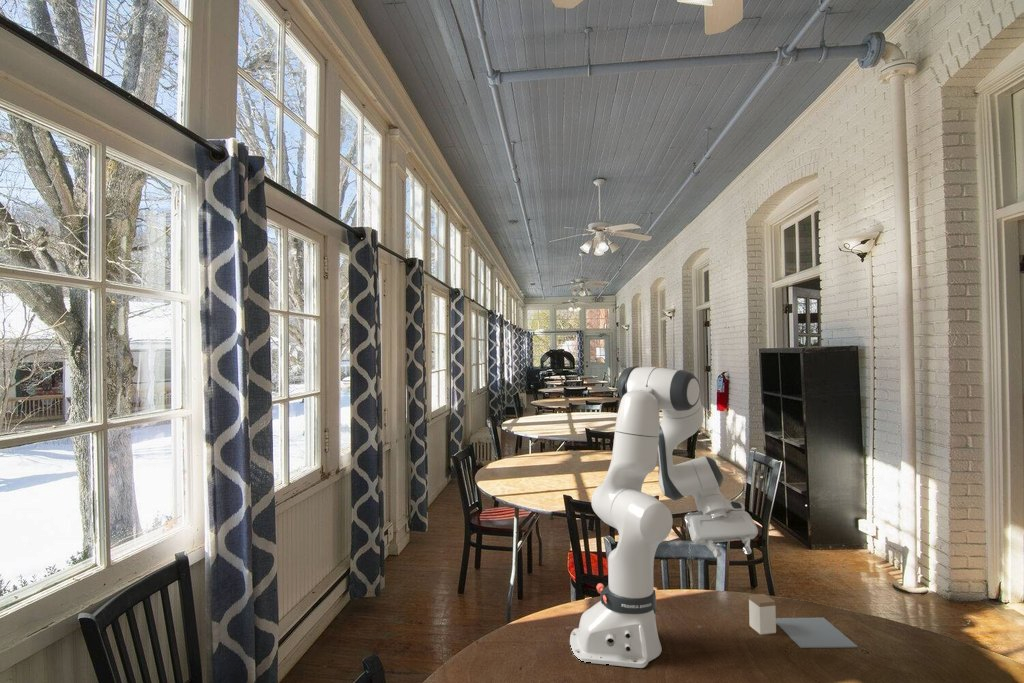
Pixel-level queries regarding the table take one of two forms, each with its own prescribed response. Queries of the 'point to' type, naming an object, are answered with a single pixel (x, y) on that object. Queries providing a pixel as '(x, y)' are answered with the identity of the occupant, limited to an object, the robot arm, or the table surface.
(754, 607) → the cream block
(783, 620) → the slate mat
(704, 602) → the table surface
